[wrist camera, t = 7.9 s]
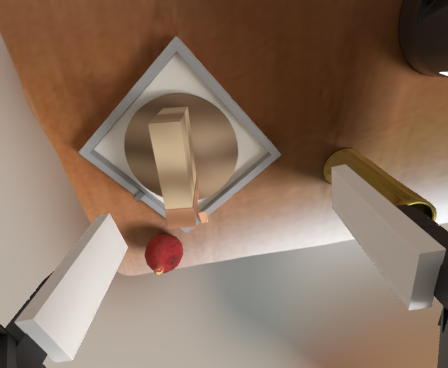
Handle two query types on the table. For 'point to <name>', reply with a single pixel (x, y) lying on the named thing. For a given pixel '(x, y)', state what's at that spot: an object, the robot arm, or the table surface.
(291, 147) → the table surface
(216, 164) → the dial
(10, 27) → the table surface
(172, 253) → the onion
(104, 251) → the robot arm
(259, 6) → the table surface
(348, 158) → the vase
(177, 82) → the panel
